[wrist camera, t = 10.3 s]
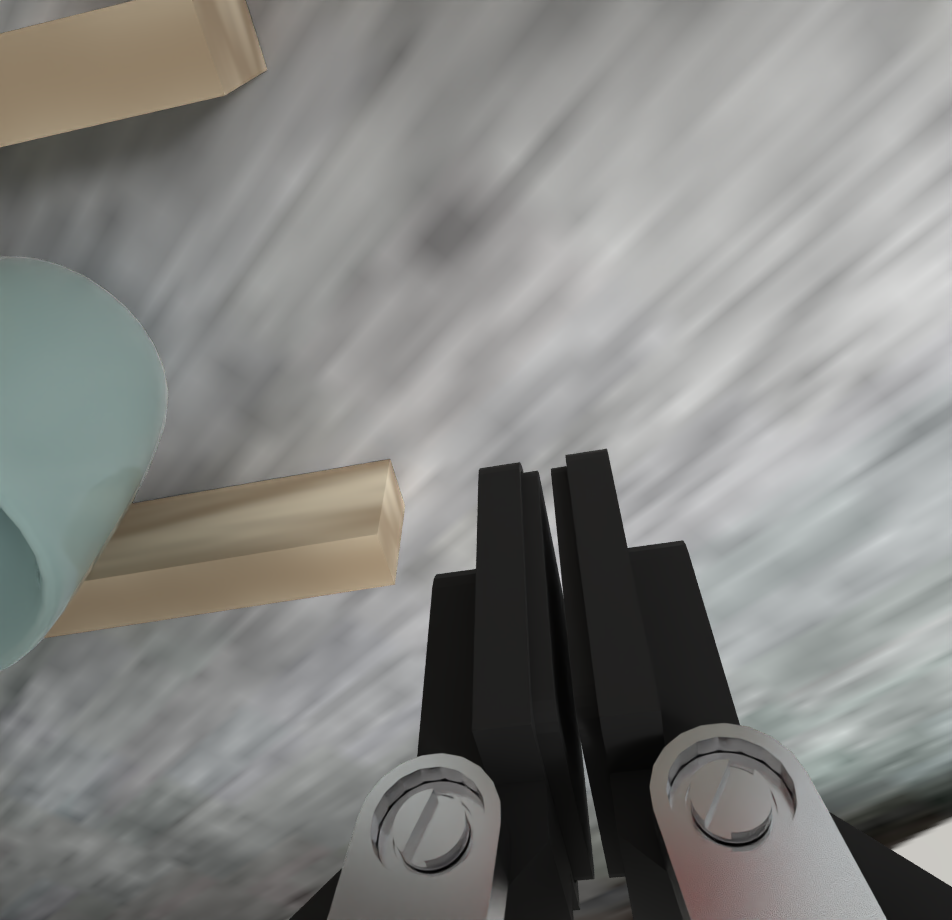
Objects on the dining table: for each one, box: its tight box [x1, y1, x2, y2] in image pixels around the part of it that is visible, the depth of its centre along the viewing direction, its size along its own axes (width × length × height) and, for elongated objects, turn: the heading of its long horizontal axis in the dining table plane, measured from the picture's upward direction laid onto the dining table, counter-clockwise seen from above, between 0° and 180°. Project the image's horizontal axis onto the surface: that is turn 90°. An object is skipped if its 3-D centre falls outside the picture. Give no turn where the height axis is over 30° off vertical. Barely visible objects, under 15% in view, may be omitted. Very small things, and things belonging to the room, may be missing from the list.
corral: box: [0, 0, 405, 638], centre depth 23 cm, size 16×18×4 cm
